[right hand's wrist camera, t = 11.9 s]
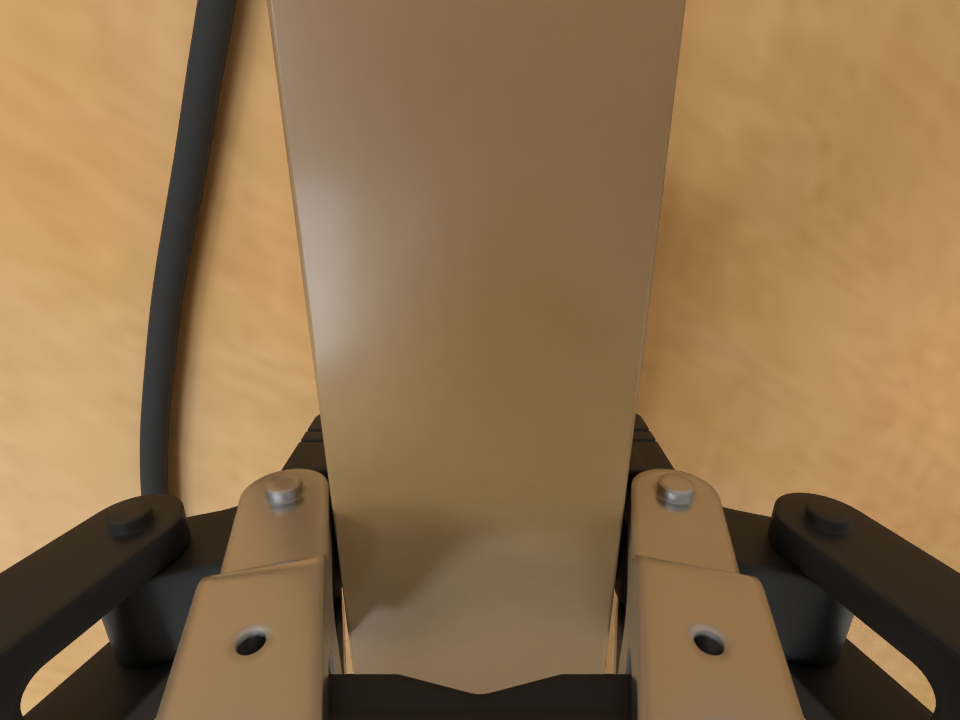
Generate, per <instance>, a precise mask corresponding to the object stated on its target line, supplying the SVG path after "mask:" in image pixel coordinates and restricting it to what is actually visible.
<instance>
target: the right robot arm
mask: <svg viewBox="0 0 960 720" xmlns="http://www.w3.org/2000/svg"><path fill="white" fill-rule="evenodd" d="M235 6H236V0H198V2H197V8H196V15H195V21H194V27H193V34H192V40H191V46H190V53H189V59H188V66H187V72H186V79H185V85H184V92H183V99H182V106H181V113H180V120H179V127H178V134H177V141H176V147H175V154H174V160H173V166H172V172H171V178H170V184H169V190H168V196H167V202H166V208H165V214H164V219H163V225H162V231H161V237H160V243H159V249H158V256H157V262H156V269H155V276H154V282H153V290H152V298H151V306H150V315H149V325H148V335H147V346H146V358H145V369H144V381H143V394H142V408H141V426H140V481H141V496H139V497H134V498H131V499H127V500H124V501H122V502H119V503H116V504H114V505H112V506H110V507H108V508H106V509H104V510H102V511H100V512H99V513H97V514H95V515H94V516H92V517H90V518H89V519H87V520H86V521H84V522H82V523H81V524H79V525H78V526H76V527H74V528H73V529H71V530H69V531H68V532H66V533H65V534H63V535H61V536H60V537H58V538H57V539H55V540H53V541H52V542H50V543H49V544H47V545H45V546H44V547H42V548H40V549H39V550H37V551H36V552H34V553H32V554H31V555H29V556H28V557H26V558H24V559H23V560H21V561H19V562H18V563H16V564H15V565H13V566H11V567H10V568H8V569H7V570H5V571H3V572H2V573H0V720H154V719H155V718H156V719H155V720H804V718H805V719H806V720H960V573H958V572H957V571H955V570H953V569H952V568H950V567H949V566H947V565H945V564H944V563H942V562H941V561H939V560H937V559H936V558H934V557H932V556H931V555H929V554H928V553H926V552H924V551H923V550H921V549H920V548H918V547H916V546H915V545H913V544H911V543H910V542H908V541H907V540H905V539H903V538H902V537H900V536H899V535H897V534H895V533H894V532H892V531H890V530H889V529H887V528H886V527H884V526H882V525H881V524H879V523H878V522H876V521H874V520H873V519H871V518H869V517H868V516H866V515H865V514H863V513H861V512H860V511H858V510H856V509H855V508H853V507H851V506H849V505H847V504H845V503H842V502H840V501H837V500H835V499H832V498H828V497H825V496H821V495H816V494H810V493H791V494H786V495H783V496H781V497H779V498H778V499H777V500H776V502H775V505H774V508H773V513H772V517H768V516H763V515H757V514H752V513H747V512H742V511H737V510H733V509H728V508H725V507H722V504H721V501H720V498H719V495H718V493H717V492H716V491H715V489H714V488H713V487H712V486H710V485H709V484H708V483H706V482H705V481H703V480H702V479H700V478H698V477H696V476H694V475H691V474H688V473H685V472H682V471H677V470H675V469H674V468H673V466H672V465H671V463H670V462H669V460H668V458H667V457H666V455H665V454H664V452H663V451H662V449H661V447H660V446H659V444H658V443H657V442H655V438H654V436H653V435H652V433H651V432H650V431H649V429H648V427H647V425H646V424H645V422H644V421H643V419H642V418H641V416H639V415H638V414H636V415H635V423H634V431H633V439H632V447H631V456H630V464H629V472H628V480H627V489H626V497H625V505H624V513H623V521H622V530H621V538H620V546H619V554H618V563H617V571H616V579H615V587H614V588H615V591H616V594H617V604H616V619H615V648H614V674H560V675H556V676H552V677H549V678H545V679H541V680H537V681H533V682H529V683H526V684H522V685H518V686H514V687H510V688H506V689H503V690H499V691H495V692H491V693H486V694H474V693H469V692H465V691H461V690H457V689H454V688H450V687H446V686H442V685H438V684H434V683H431V682H427V681H423V680H419V679H415V678H411V677H408V676H404V675H400V674H346V650H345V621H344V605H343V597H342V580H341V572H340V564H339V557H338V549H337V541H336V533H335V526H334V518H333V510H332V502H331V494H330V487H329V479H328V471H327V463H326V456H325V448H324V440H323V432H322V424H321V417H320V415H318V416H317V417H316V418H315V419H314V421H313V422H312V424H311V425H310V427H309V428H308V432H306V433H305V435H304V436H303V438H302V439H301V442H299V444H298V445H297V447H296V449H295V450H294V452H293V453H292V455H291V456H290V458H289V459H288V461H287V462H286V464H285V466H284V467H283V469H282V470H281V471H278V472H275V473H272V474H269V475H266V476H264V477H262V478H260V479H258V480H257V481H255V482H253V483H252V484H251V485H249V486H248V487H247V488H246V489H245V490H244V492H243V493H242V495H241V497H240V500H239V504H238V506H236V507H233V508H230V509H226V510H222V511H217V512H212V513H207V514H202V515H197V516H192V517H187V518H186V514H185V510H184V506H183V503H182V502H181V500H180V499H178V498H176V497H174V496H171V495H168V436H169V420H170V408H171V397H172V387H173V378H174V369H175V360H176V350H177V341H178V333H179V325H180V317H181V310H182V303H183V296H184V290H185V284H186V278H187V272H188V266H189V261H190V255H191V250H192V245H193V239H194V234H195V229H196V224H197V219H198V214H199V209H200V203H201V198H202V193H203V188H204V182H205V177H206V172H207V166H208V160H209V155H210V149H211V143H212V137H213V131H214V125H215V119H216V113H217V107H218V101H219V96H220V90H221V84H222V78H223V73H224V67H225V62H226V56H227V50H228V45H229V39H230V34H231V28H232V23H233V17H234V12H235ZM854 615H855V616H856V617H857V618H859V619H860V620H861V621H862V622H864V623H865V624H866V625H867V626H869V627H870V628H871V629H872V630H873V631H875V632H876V633H877V634H878V635H880V636H881V637H882V638H883V639H885V640H886V641H887V642H888V643H890V644H891V645H892V646H893V647H894V648H896V649H897V650H898V651H899V652H901V653H902V654H903V655H904V656H906V657H907V658H908V659H909V660H910V661H912V662H913V663H914V664H915V665H916V666H917V667H918V668H919V669H920V670H921V671H922V673H923V674H924V675H925V676H926V678H927V679H928V681H929V683H930V684H931V687H932V689H933V691H934V694H935V698H936V708H935V711H934V713H932V712H931V711H930V710H929V709H928V708H926V707H925V706H924V705H923V704H922V703H921V702H919V701H918V700H917V699H916V698H915V697H914V696H913V695H911V694H910V693H909V692H908V691H907V690H906V689H904V688H903V687H902V686H901V685H900V684H899V683H898V682H896V681H895V680H894V679H893V678H892V677H891V676H889V675H888V674H887V673H886V672H885V671H884V670H882V669H881V668H880V667H879V666H878V665H877V664H876V663H874V662H873V661H872V660H871V659H870V658H869V657H867V656H866V655H865V654H864V653H863V652H862V651H861V650H859V649H858V648H857V647H856V646H855V645H854V644H852V643H851V642H850V641H849V640H848V639H847V638H846V636H847V633H848V631H849V628H850V625H851V622H852V619H853V616H854ZM101 618H102V621H103V624H104V627H105V629H106V632H107V635H108V638H109V641H110V642H109V643H108V644H106V645H105V646H104V647H103V648H102V649H101V650H99V651H98V652H97V653H96V654H95V655H94V656H92V657H91V658H90V659H89V660H88V661H87V662H86V663H84V664H83V665H82V666H81V667H80V668H79V669H77V670H76V671H75V672H74V673H73V674H72V675H71V676H69V677H68V678H67V679H66V680H65V681H64V682H62V683H61V684H60V685H59V686H58V687H57V688H56V689H54V690H53V691H52V692H51V693H50V694H49V695H47V696H46V697H45V698H44V699H43V700H42V701H41V702H39V703H38V704H37V705H36V706H35V707H34V708H32V709H31V710H30V711H29V712H28V713H27V714H26V715H24V716H22V713H21V710H20V703H21V698H22V695H23V692H24V690H25V688H26V686H27V685H28V683H29V681H30V680H31V679H32V677H33V676H34V675H35V674H36V672H37V671H38V670H39V669H40V668H41V667H42V666H44V665H45V664H46V663H47V662H48V661H50V660H51V659H52V658H53V657H54V656H56V655H57V654H58V653H59V652H61V651H62V650H63V649H64V648H66V647H67V646H68V645H69V644H70V643H72V642H73V641H74V640H75V639H77V638H78V637H79V636H80V635H82V634H83V633H84V632H85V631H86V630H88V629H89V628H90V627H91V626H93V625H94V624H95V623H96V622H98V621H99V620H100V619H101Z"/></svg>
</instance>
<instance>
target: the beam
mask: <svg viewBox="0 0 960 720" xmlns="http://www.w3.org/2000/svg"><path fill="white" fill-rule="evenodd" d="M267 4H268V12H269V20H270V28H271V36H272V43H273V51H274V59H275V67H276V74H277V82H278V90H279V98H280V106H281V113H282V121H283V129H284V137H285V144H286V152H287V160H288V168H289V176H290V183H291V191H292V199H293V207H294V214H295V222H296V230H297V238H298V246H299V253H300V261H301V269H302V277H303V284H304V292H305V300H306V308H307V316H308V323H309V331H310V339H311V347H312V354H313V362H314V370H315V378H316V386H317V393H318V401H319V409H320V417H321V424H322V432H323V440H324V448H325V456H326V463H327V471H328V479H329V487H330V494H331V502H332V510H333V518H334V526H335V533H336V541H337V549H338V557H339V564H340V572H341V580H342V588H343V596H344V603H345V611H346V619H347V627H348V634H349V642H350V650H351V658H352V666H353V673H354V674H400V675H404V676H408V677H411V678H415V679H419V680H423V681H427V682H431V683H434V684H438V685H442V686H446V687H450V688H454V689H457V690H461V691H465V692H469V693H474V694H486V693H491V692H495V691H499V690H503V689H506V688H510V687H514V686H518V685H522V684H526V683H529V682H533V681H537V680H541V679H545V678H549V677H552V676H556V675H560V674H604V669H605V661H606V653H607V645H608V637H609V628H610V620H611V612H612V604H613V595H614V587H615V579H616V571H617V563H618V554H619V546H620V538H621V530H622V521H623V513H624V505H625V497H626V489H627V480H628V472H629V464H630V456H631V447H632V439H633V431H634V423H635V415H636V406H637V398H638V390H639V382H640V373H641V365H642V357H643V349H644V341H645V332H646V324H647V316H648V308H649V299H650V291H651V283H652V275H653V267H654V258H655V250H656V242H657V234H658V225H659V217H660V209H661V201H662V193H663V184H664V176H665V168H666V160H667V152H668V143H669V135H670V127H671V119H672V110H673V102H674V94H675V86H676V78H677V69H678V61H679V53H680V45H681V36H682V28H683V20H684V12H685V4H686V0H267Z"/></svg>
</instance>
